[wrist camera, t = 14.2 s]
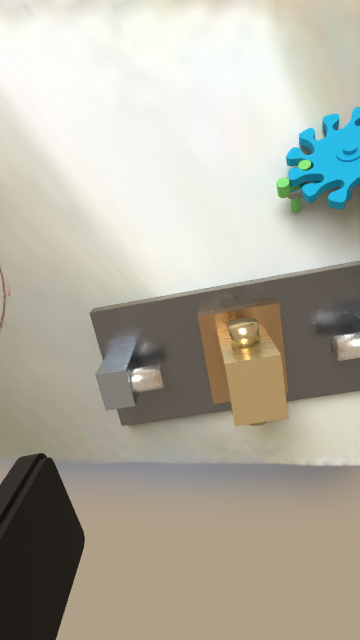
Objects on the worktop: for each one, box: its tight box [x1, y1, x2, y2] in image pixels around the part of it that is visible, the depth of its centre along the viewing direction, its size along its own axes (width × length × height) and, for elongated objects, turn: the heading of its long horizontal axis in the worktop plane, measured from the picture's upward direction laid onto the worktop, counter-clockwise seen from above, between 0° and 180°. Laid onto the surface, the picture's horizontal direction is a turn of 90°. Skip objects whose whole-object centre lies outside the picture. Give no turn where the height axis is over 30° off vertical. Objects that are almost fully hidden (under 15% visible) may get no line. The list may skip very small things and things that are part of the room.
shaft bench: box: [90, 261, 360, 426], centre depth 34 cm, size 30×14×6 cm, turn 101°
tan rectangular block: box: [218, 318, 288, 426], centre depth 31 cm, size 4×10×7 cm, turn 11°
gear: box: [277, 107, 360, 212], centre depth 30 cm, size 11×6×10 cm
